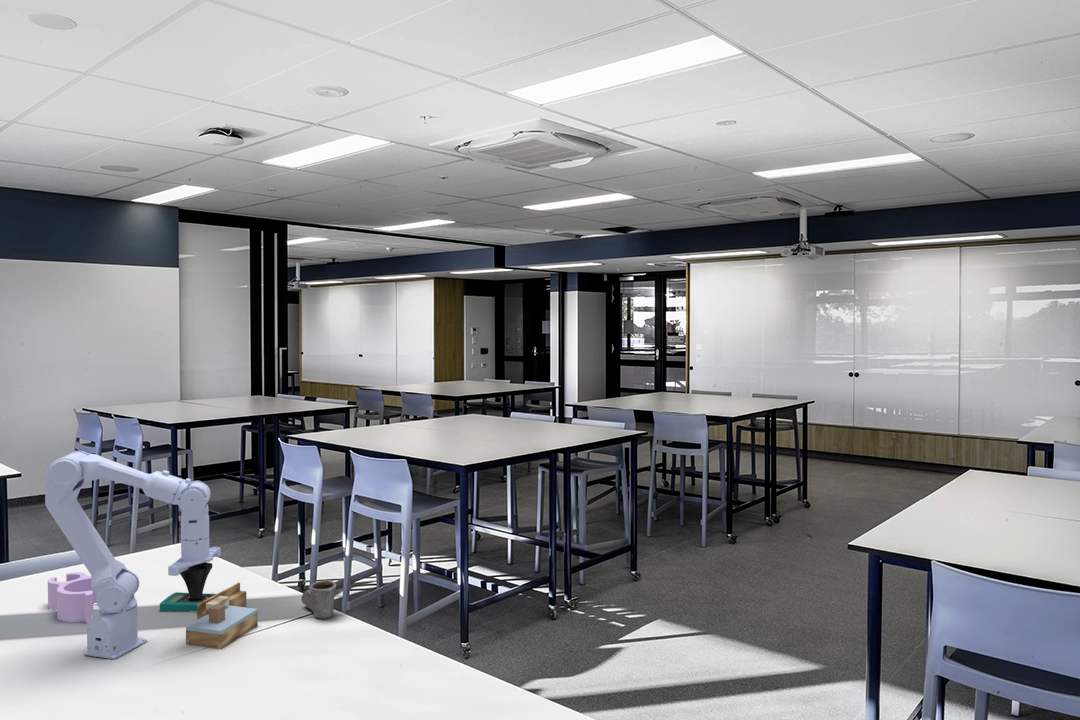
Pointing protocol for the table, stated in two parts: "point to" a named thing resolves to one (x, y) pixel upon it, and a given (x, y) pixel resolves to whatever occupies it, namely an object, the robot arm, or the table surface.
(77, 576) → the clip
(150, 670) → the table surface
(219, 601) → the cream rectangular block
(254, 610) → the lid
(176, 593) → the digital multimeter
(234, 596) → the toolbox
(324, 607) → the pipe
